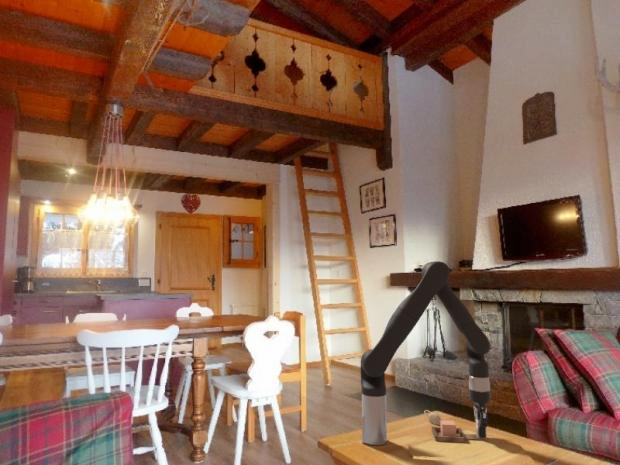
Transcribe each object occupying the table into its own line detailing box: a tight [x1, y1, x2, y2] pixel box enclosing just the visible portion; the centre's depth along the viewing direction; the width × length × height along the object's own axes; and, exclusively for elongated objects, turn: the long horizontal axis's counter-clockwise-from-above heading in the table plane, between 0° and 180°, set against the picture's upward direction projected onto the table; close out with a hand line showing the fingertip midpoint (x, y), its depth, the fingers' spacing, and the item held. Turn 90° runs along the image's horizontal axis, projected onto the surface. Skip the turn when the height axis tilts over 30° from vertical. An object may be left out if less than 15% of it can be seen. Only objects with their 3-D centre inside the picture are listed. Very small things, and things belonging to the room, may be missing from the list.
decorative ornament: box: [423, 409, 442, 426], centre depth 182 cm, size 4×8×5 cm, turn 28°
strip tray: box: [431, 419, 488, 443], centre depth 165 cm, size 19×11×7 cm, turn 82°
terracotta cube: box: [439, 419, 457, 436], centre depth 166 cm, size 5×5×5 cm
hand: (481, 435), depth 164 cm, fingers closed on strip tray, 3 cm apart
